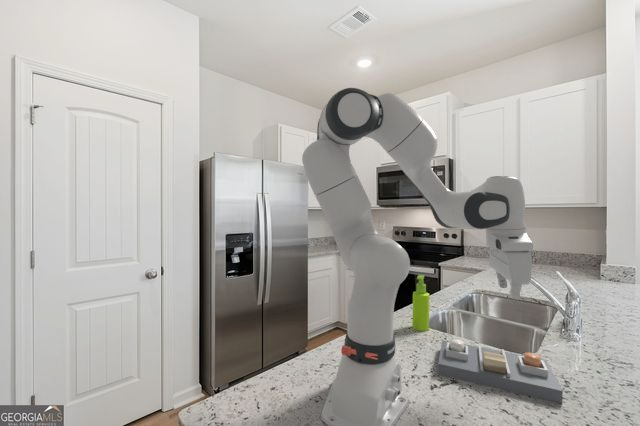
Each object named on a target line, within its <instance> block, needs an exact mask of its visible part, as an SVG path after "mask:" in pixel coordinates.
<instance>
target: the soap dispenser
mask: <svg viewBox="0 0 640 426" xmlns="http://www.w3.org/2000/svg"><path fill="white" fill-rule="evenodd" d="M424 279H425V274H418V275H417V277H416V280H418V282H417V283H416V287H415V289H416V291H413V292H412V323H411V324H412V329H414V330H415V331H418V332H419V331H420V332H427V331H429V330H430V293H428V292H427V284H426V283H424V282H425V281H424Z"/></svg>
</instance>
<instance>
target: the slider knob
mask: <svg viewBox="0 0 640 426" xmlns="http://www.w3.org/2000/svg"><path fill="white" fill-rule="evenodd" d="M483 362H484V369H485V370H490V371H495V372H500V373H504V374H506V360H505V357H504V355H500V354H495V353H490V352H485V351H484V360H483Z"/></svg>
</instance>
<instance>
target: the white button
mask: <svg viewBox="0 0 640 426" xmlns="http://www.w3.org/2000/svg"><path fill="white" fill-rule="evenodd" d="M450 342H451V346H450V349H451V350H452V351H457V352H464V344H465V341H463V340H461V339H457V338H456V339H454V338H453V339H451V340H450Z"/></svg>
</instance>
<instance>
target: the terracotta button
mask: <svg viewBox="0 0 640 426" xmlns="http://www.w3.org/2000/svg"><path fill="white" fill-rule="evenodd" d="M523 355H524V363H525V364H526V365H528V366H533V367H538V368H540V367H541V359H542V357H541V356H540V355H538V354H536V353H533V352H524V354H523Z"/></svg>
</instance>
